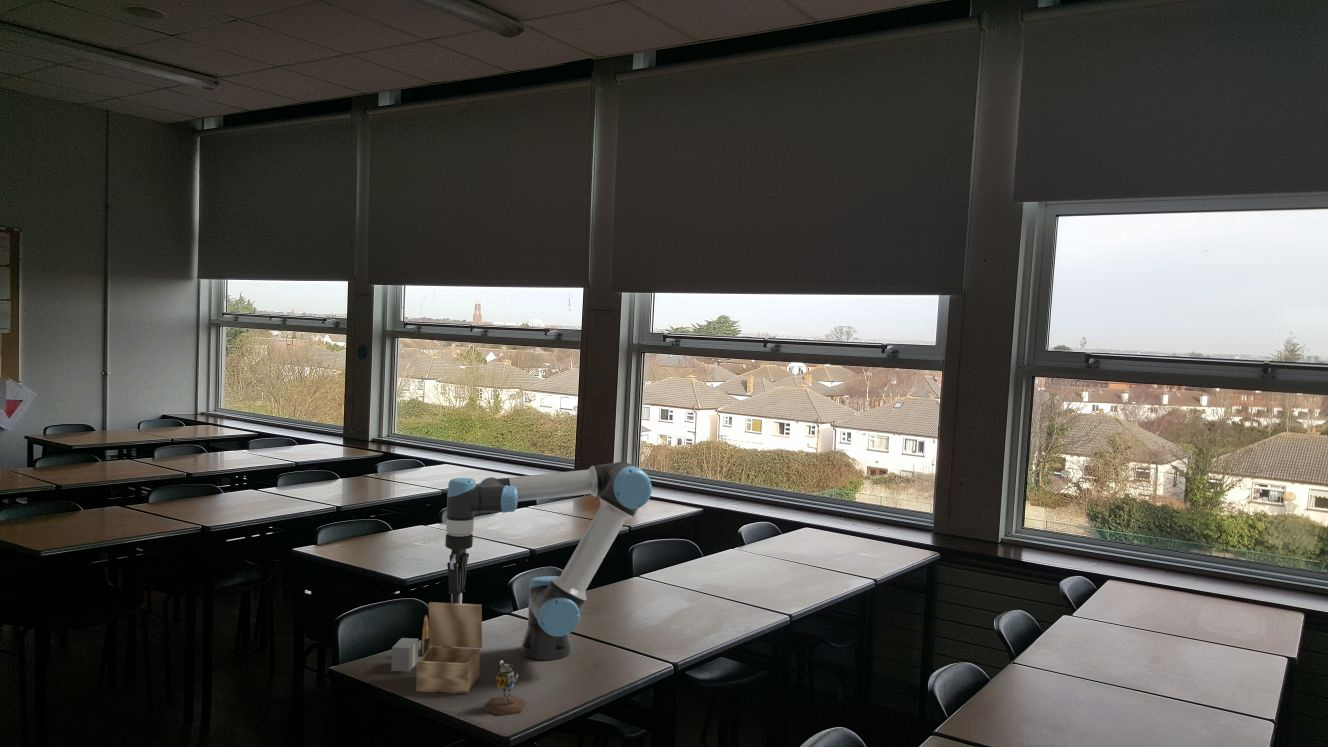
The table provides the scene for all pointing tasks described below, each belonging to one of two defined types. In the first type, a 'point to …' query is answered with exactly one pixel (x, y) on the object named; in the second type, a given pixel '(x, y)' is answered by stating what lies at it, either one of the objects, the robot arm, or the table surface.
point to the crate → (447, 670)
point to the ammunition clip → (426, 638)
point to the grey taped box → (404, 654)
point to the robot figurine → (509, 702)
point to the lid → (455, 625)
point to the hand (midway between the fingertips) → (455, 616)
